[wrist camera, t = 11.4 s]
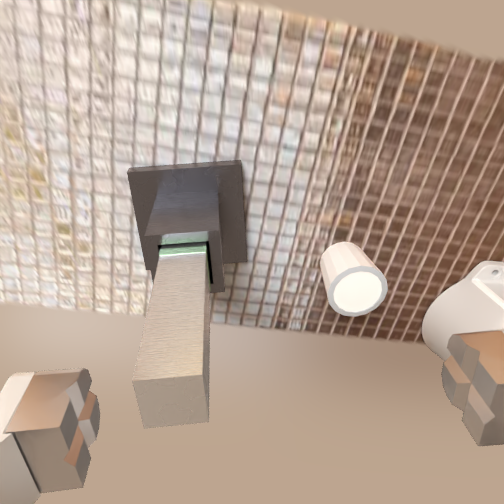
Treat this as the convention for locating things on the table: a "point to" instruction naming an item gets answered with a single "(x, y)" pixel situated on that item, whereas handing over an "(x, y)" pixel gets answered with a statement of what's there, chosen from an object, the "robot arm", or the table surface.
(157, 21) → the table surface
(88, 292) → the table surface
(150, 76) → the table surface
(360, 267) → the white tapered cup
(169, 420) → the steel post
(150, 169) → the sleeve stand
